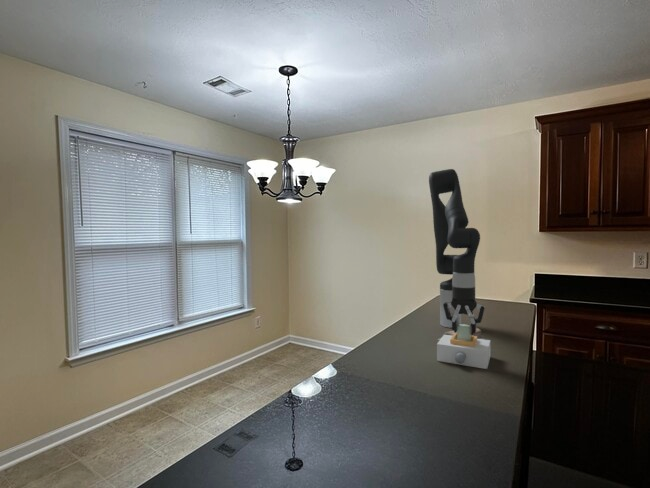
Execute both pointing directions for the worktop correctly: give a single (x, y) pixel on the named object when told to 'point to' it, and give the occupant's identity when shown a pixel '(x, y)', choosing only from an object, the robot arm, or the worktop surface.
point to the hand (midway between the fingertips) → (463, 332)
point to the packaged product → (477, 333)
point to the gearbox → (464, 351)
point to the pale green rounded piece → (464, 332)
